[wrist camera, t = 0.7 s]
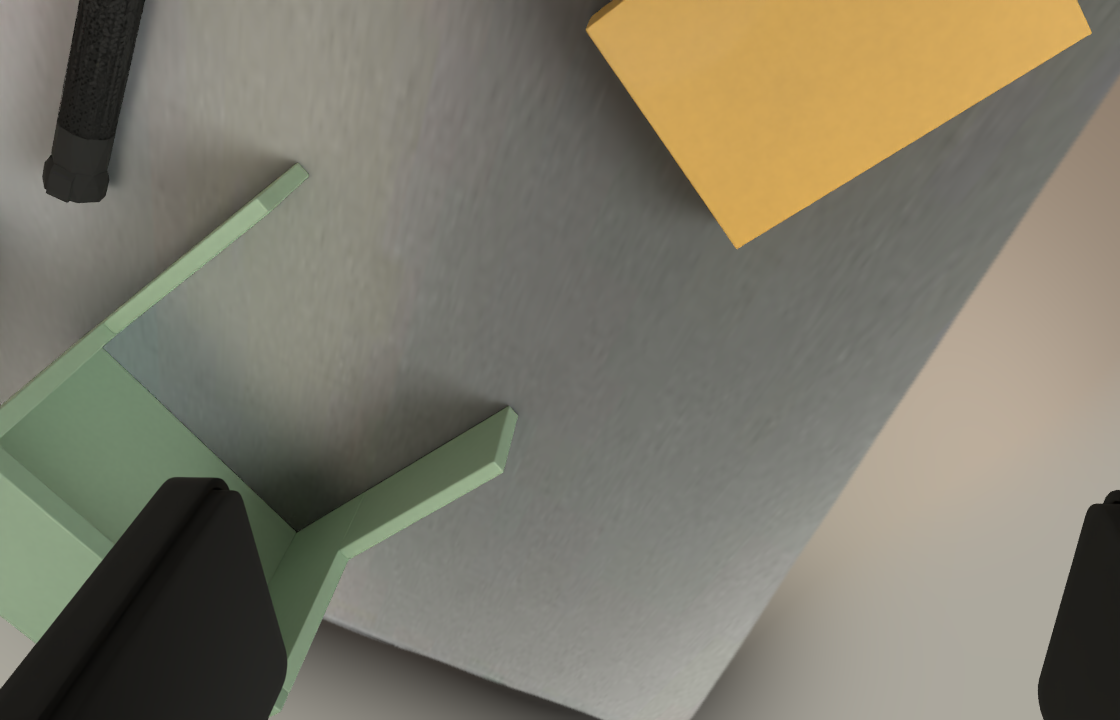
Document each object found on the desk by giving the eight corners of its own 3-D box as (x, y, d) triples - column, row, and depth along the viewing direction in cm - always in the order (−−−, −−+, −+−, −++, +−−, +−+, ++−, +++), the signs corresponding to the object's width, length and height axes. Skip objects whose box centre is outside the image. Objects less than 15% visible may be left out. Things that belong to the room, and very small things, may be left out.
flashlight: (206, -167, 35) (170, -169, 33) (121, 191, 43) (87, 213, 41) (133, -207, 35) (90, -211, 32) (60, 163, 43) (21, 183, 40)
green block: (298, 161, 42) (140, 296, 29) (518, 415, 47) (466, 619, 35) (78, 340, 48) (-130, 515, 35) (296, 546, 54) (184, 760, 41)
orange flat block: (934, -247, 32) (958, -256, 29) (1061, 19, 36) (1092, 33, 33) (590, 17, 37) (584, 29, 35) (732, 224, 41) (736, 249, 39)
